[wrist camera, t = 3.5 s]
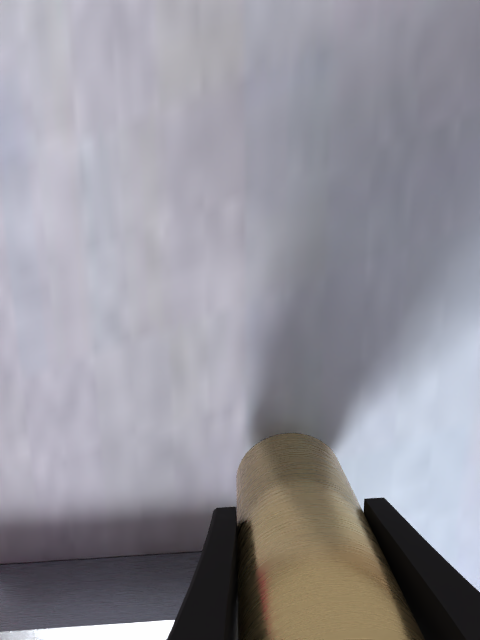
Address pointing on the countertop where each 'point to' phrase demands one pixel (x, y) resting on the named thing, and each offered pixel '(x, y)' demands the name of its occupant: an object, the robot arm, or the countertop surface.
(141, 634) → the plate
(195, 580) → the robot arm
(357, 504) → the brass cylinder
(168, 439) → the countertop surface
